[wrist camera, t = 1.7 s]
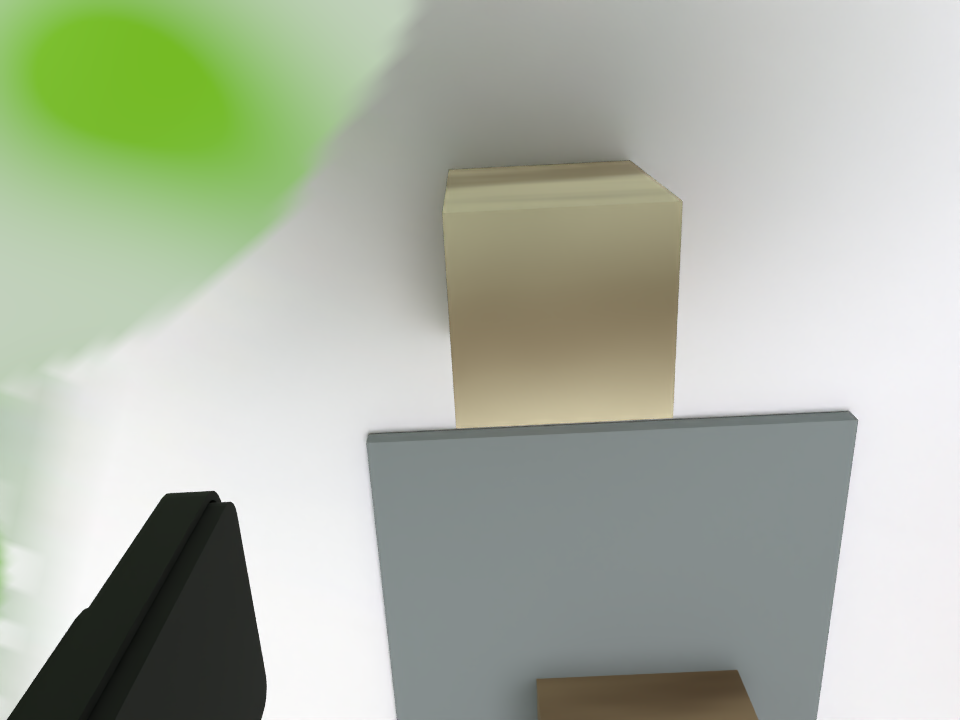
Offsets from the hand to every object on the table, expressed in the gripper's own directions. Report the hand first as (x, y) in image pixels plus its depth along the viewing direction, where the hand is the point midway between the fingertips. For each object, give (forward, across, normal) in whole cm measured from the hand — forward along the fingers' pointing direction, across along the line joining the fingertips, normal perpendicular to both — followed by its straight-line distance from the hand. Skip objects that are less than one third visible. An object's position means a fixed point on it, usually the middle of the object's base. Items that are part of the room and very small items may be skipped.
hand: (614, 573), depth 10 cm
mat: (+15, -2, +16) cm, 22 cm away
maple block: (+14, 0, -1) cm, 15 cm away
